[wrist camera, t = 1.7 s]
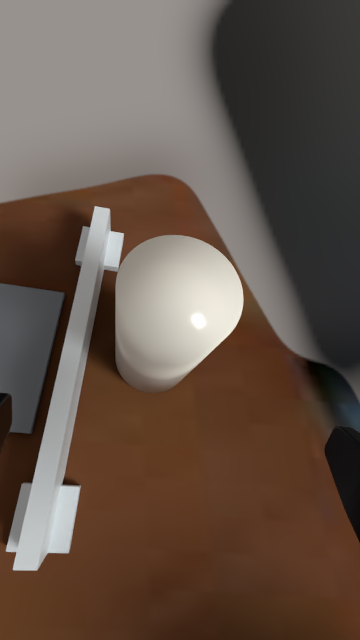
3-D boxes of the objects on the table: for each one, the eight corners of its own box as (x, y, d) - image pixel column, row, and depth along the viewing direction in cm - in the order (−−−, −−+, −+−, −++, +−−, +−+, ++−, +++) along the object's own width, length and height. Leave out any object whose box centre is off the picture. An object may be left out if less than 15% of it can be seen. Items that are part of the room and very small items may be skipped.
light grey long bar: (69, 549, 16) (60, 570, 14) (9, 548, 16) (-13, 569, 13) (123, 238, 24) (124, 211, 21) (83, 231, 24) (79, 203, 21)
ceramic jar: (186, 396, 20) (243, 360, 11) (109, 388, 20) (105, 342, 11) (190, 326, 22) (243, 246, 13) (121, 316, 22) (125, 224, 13)
